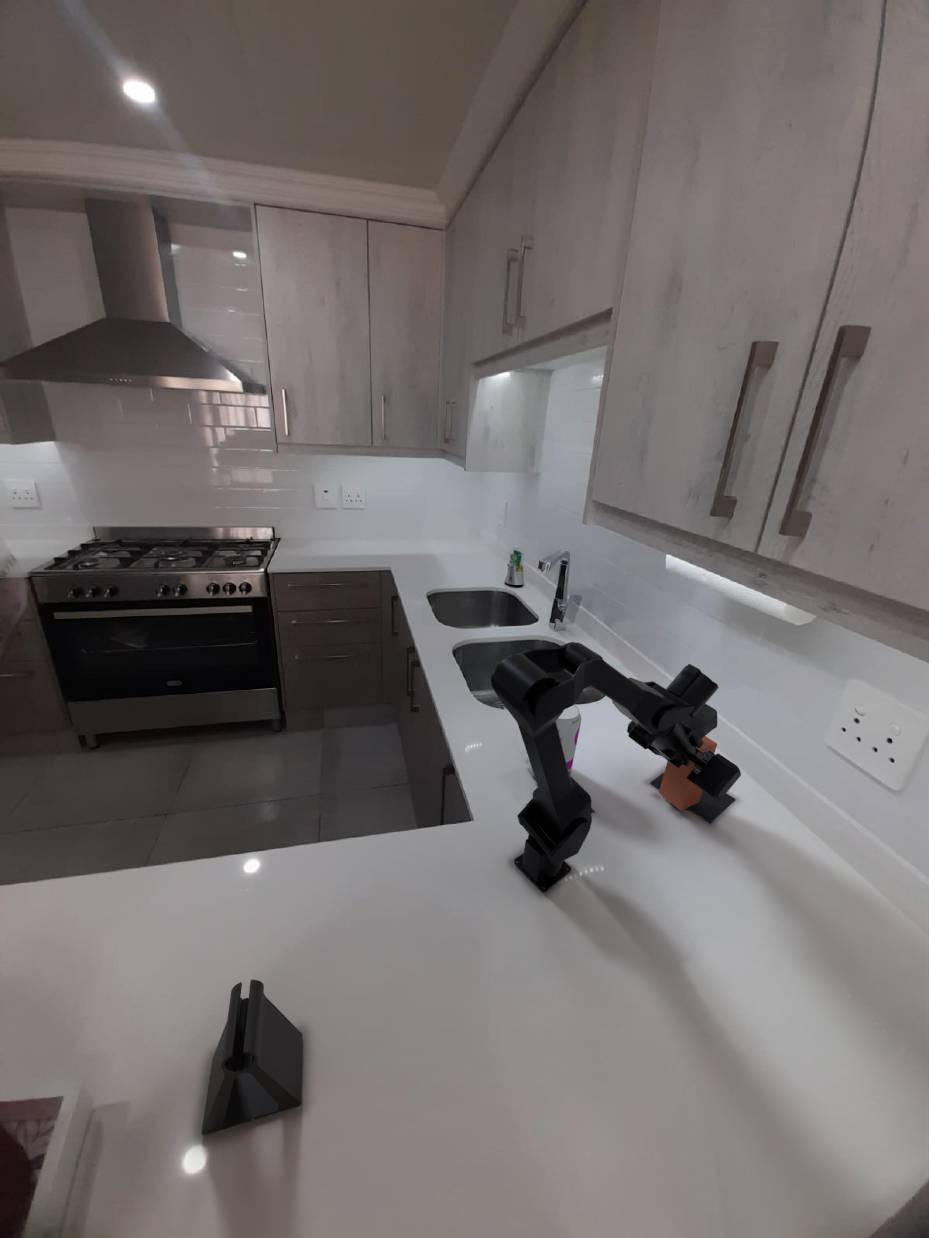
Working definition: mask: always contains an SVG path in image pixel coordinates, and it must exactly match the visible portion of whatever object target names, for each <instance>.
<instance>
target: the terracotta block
mask: <svg viewBox="0 0 929 1238" xmlns="http://www.w3.org/2000/svg"><path fill="white" fill-rule="evenodd" d="M702 740H703V742H704V744H703V745H702V746H701V747H700V748H698V747H696V749H698V750H699V751H701V752H706V751H707V752H708V751H711V752H712V753H714V754H716V750H717V747H718V743H717V742H715V741H714V740H712V739H710V738H709V737H707V735H706V736H704V737H703V738H702ZM694 756H696V757H697V755H695V754H694ZM697 758H699V757H697ZM701 759H702V758H701ZM666 761H667V760H666ZM688 762H690V765H689V766H688V767H685V766H684V765H683V764H682V765H681V766H680V767H679V768H677V767H675V766H674V765H673V764H671V763H670V762H669V761H667V762H666V764H665V769H664V772H663V773H664V776H663V780H662V783H661V787H660V790H659V791H658V794H660V795H661V796H662V797H663V798H665V799H666V800H667V801H668V802H670V803H671V804H672V805H673V806H674V807H676V808H677V809H678V810H680V812H681V811H684V810H686V809H687V808H688V807H690V806H692V805H694V804H697V803H699V802H700V798H701V795H702V792H703V791H702V790H701V789H700V788H699V787H698V786H696V785H695V784H694V783H692V782H691V781H690V780H688V779H687V778H686V777H687V776H688V775H689V774H690V773H691V772H692V770H693V769H694V767H693V765H694V764H693V763H692V762H691V761H688Z"/></svg>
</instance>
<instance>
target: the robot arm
mask: <svg viewBox="0 0 929 1238" xmlns="http://www.w3.org/2000/svg"><path fill="white" fill-rule="evenodd" d="M563 671H565V672H566V673H567V674H568V675H570V676H572V677H571V678H570V679H568V680H565V681H563V682H561V681H559V680H558V679H557V678H555V676H553V675H551V674H552V673H553V674H554V673H561V672H563ZM490 684H491V687H492V689H493V691H494V693H495V694H496V696H497V697H498V699H499V701H500V702H501V703H502V705H503V706H504V707H505V709H506V710H507V711H508V712H509V714H510V715H511V717H512V718H513V719H514V720H515V722H516V723H517V726H518V729H519V733H520V736H521V738H522V742H523V745H524V748H525V751H526V754H527V756H528V761H529V760H530V764H531V767H532V770H533V773H534V776H535V777H534V776H533V777H534V779H535V782H536V785H537V786H536V788H535V789H534V790H533V791H532V798H531V799H530V800H529V801H528V802H527V804H526V805H525V806H524V808H522V809H521V811H520V812H519V813H518V814H517V817H516V818H517V820H518V824H519V825H520V826H521V827H523V829H524V830H525V831H526V833H527V834H528V836H527V839H525V843H524V848H523V852H522V853H521V854H519V856H517V857H516V858H514V860H513V864H514V865H515V866H516V867H517V868H518V869H519V871H520V872H522V873H523V875H525V876H526V878H528V879H529V880H530V881H531V883H532V884H534V886H536V888H538V889H539V891H540V892H542V893H546V892H547V891H549V890H550V889H551V888H553V887H554V886H555V885H556V884H558V882H560V881H561V880H563V879H564V878H565V877H566V876H568V875H569V874H570V873H571V872H572V867H571V866H570V864H568V863H567V862H566V860H568V859H570V858H572V857H573V856H576V855H578V854H579V852H580V850H581V848H582V846H583V844H584V842H585V840H586V839H587V836H588V835H589V833H590V830H591V828H592V827H591V826H592V822H593V815H592V814H594V813H596V810H594V809H593V806H592V805H593V804H592V802H593V801H592V797H591V794H590V793H589V792H588V791H586V789H585V788H583V786H581V784H580V783H578V781H576V780H575V779H574V778H573V777H572V776H571V774H570V775H569V771H568V767H567V763H566V759H565V756H564V752H563V748H562V744H561V740H560V736H559V732H558V728H557V724H556V721H557V719H558V718H559V717H560V715H561V714H562V713H563V710H565V709H567V708H569V707H571V706H573V705H574V704H576V703H577V701H578V699H579V698H580V696H581V695H582V693H583V691H584V690H585V689H586V688H589V687H592V688H593V690H596V691H597V692H599V693H601V694H603V696H605V697H607V698H609V699H610V700H611V703H612V704H613V706H614V707H615V708H616V710H617V711H618V712H619V713H621V714H622V715H623V716H625V717H626V718H628V719H629V720H630V722H628V723H627V728H626V732H627V734H628V735H627V737H628V738H630V739H631V740H632V741H634V743H636V744H637V745H639V746H640V747H641V748H643V749H644V750H649V751H650V752H652V754H654V755H656V756H660V757H662V758H663V759H664V760H666V761H669V762H670V763H671V764H673V765H674V766H675V767H677V768H679V767H680V766H681V765H682V764H683V765H684V766H685V767H688V766H689V765H690V762H688V761H691V762H692V763H693V764H694V765H693V767H694V769H693V770H692V772H691V773H690V774H689V775H688V776H687V777H686V778H687V779H688V780H690V781H691V782H692V783H694V784H695V785H696V786H698V787H699V788H700V789H701V790H702V791H704V792H705V793H706V794H708V795H709V796H710V797H712V798H713V799H714V800H721V799H722V798H723V796H724V795H725V794H726V793H727V794H728V792H729V791H730V789H731V788H732V787H733V786H734V785H735V783H736V782H737V781H738V780H739V779H740V777H742V772H741V769H740V768H739V766H738V765H736V763H734V762H732V761H731V760H729V759H727V758H726V757H725V756H724V755H722V754H720V753H718V752H717V753H712V752H711V751H708V752H707V751H706V752H701V751H699V750H698V749H696V747H698V748H700V747H701V746H702V745H703V744H704V742H703V740H702V738H703V737H704V736H706V737H707V735H708V734H709V733H711V732H712V731H713V730H715V729H716V728H718V711H717V710H716V708H714V707H712V706H710V705H709V704H707V702H709V700H710V699H711V698H712V696H714V695H715V693H716V692H717V691H718V690H719V684H718V683H717V682H715V681H713V680H712V679H711V678H710V677H709V676H708V675H706V674H705V673H703V672H702V671H701V669H700V668H698V667H696V666H694V665H693V664H691V663H688V664H687V665H685V666H684V667H683V668H682V669H681V671H679V672H678V674H677V675H676V676H675V678H674V679H673V680H672V681H671V682H670V683H669V685H667V687H666V688H665V687H663V686H662V685H660V684H658V683H657V682H655V681H654V680H652V681H644V682H643V681H642V680H639V679H637V678H633V677H627V676H626V675H624V674H623V673H621V672H620V671H619V670H618V669H616V668H615V667H613V665H611V664H609V663H608V662H606V661H605V660H604V658H603V657H602V656H601V655H600V654H599V653H598V652H595V651H593V650H592V649H591V648H589V647H587V645H584V644H582V643H580V642H575V641H570V642H567V643H565V644H562V645H560V646H554V647H536V648H535V647H534V648H529V649H526V650H524V651H522V652H519V653H516V654H511V655H509V656H507V657H506V658H505V659H502V660H501V661H500V662H499V663H498V664H497V666H496V667H495V669H494V672H493V673H492V674H491V676H490ZM694 754H695V755H697V757H699V758H697V757H696V756H694ZM701 758H702V759H701Z"/></svg>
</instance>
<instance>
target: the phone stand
mask: <svg viewBox="0 0 929 1238" xmlns="http://www.w3.org/2000/svg"><path fill="white" fill-rule="evenodd" d="M242 987H243V983H242V982H241V981H240V982H238V983H237V984H235V985H234V986H233V987H232V988H231V990H230V996H229V1003H228V1004H229V1005H228V1012H227V1019H226V1022H225V1025H224V1028H223V1031H222V1033H221V1036H220V1037H219V1040H218V1043H217V1046H216V1048H215V1051H214V1052H213V1056H212V1059H211V1060H212V1061H211V1065H210V1066H211V1067H210V1074H209V1080H208V1087H207V1092H206V1093H207V1094H206V1100H205V1106H204V1113H203V1119H202V1125H201V1133H200V1134H201V1136H206V1135H209V1134H210V1135H211V1134H213V1133H216V1132H219V1131H222V1130H226V1129H230V1128H232V1127H235V1126H239V1125H242V1124H245V1123H246V1124H247V1123H248V1122H251V1121H252V1120H258V1119H262V1118H265V1117H268V1116H271V1115H275V1114H278V1113H282V1112H284V1111H287V1110H292V1109H295V1108H298V1107H300V1106H301V1105H302V1085H303V1084H302V1083H303V1082H302V1081H303V1080H302V1079H303V1078H302V1077H303V1033H302V1032H301V1031H300V1030H299V1028H297V1026H295V1025H294V1023H292V1022H291V1021H290V1020H289V1019H288V1017H287V1016H285V1015H284V1014H283V1012H282V1011H281V1010H279V1008H278V1007H277V1006H276V1005H275V1004H274V1003H272V1001H271V1000H270V999H269V998H268V997H267V996H266V994H265V991H264V990H265V985H264V983H263V982H262V981H261V980H258V979H250V983H249V991H248V997H245V998H242V997H241V996H242Z"/></svg>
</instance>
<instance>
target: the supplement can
mask: <svg viewBox="0 0 929 1238" xmlns="http://www.w3.org/2000/svg"><path fill="white" fill-rule="evenodd" d="M556 724H557V728H558V732H559V736H560V740H561V744H562V748H563V752H564V756H565V759H566V763H567V767H568V771H569V775H570V776H571V774H572V769H573V765H574V764H573V763H574V758H575V754H576V749H577V744H578V741H579V740H578V738H579V734H580V730H581V724H582V715H581V713H580V708H579V707H578V705H577V704H576V703H575V704H574V705H573V706H571V707H569V708H567V709H565V710H563V713H562V714H561V715H560V717H559V718H558V719H557V721H556ZM527 767H528V771H529V772H530V775H532V776H533V778H535V776H534V773H533V770H532V767H531V764H530V760H529V759H528V765H527Z"/></svg>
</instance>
